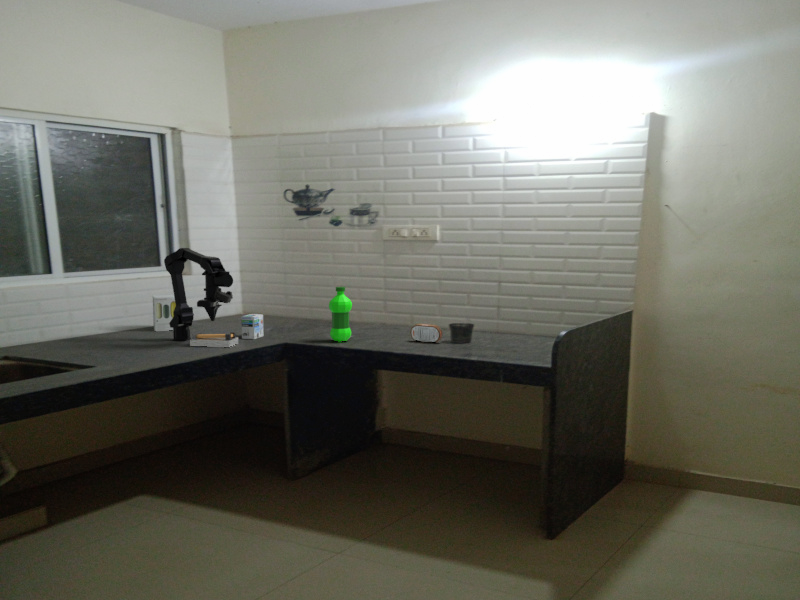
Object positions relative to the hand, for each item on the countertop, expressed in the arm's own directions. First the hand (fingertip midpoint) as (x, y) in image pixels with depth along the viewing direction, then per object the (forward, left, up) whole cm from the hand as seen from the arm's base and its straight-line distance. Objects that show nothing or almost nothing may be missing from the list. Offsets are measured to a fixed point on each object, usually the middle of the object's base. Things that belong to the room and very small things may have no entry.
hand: (212, 320), depth 281 cm
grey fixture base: (+1, -2, -11) cm, 11 cm away
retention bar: (+1, -2, -7) cm, 7 cm away
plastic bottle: (+54, +16, -11) cm, 58 cm away
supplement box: (-43, +40, -11) cm, 59 cm away
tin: (+93, +19, -11) cm, 96 cm away
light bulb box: (+10, +21, -11) cm, 26 cm away
